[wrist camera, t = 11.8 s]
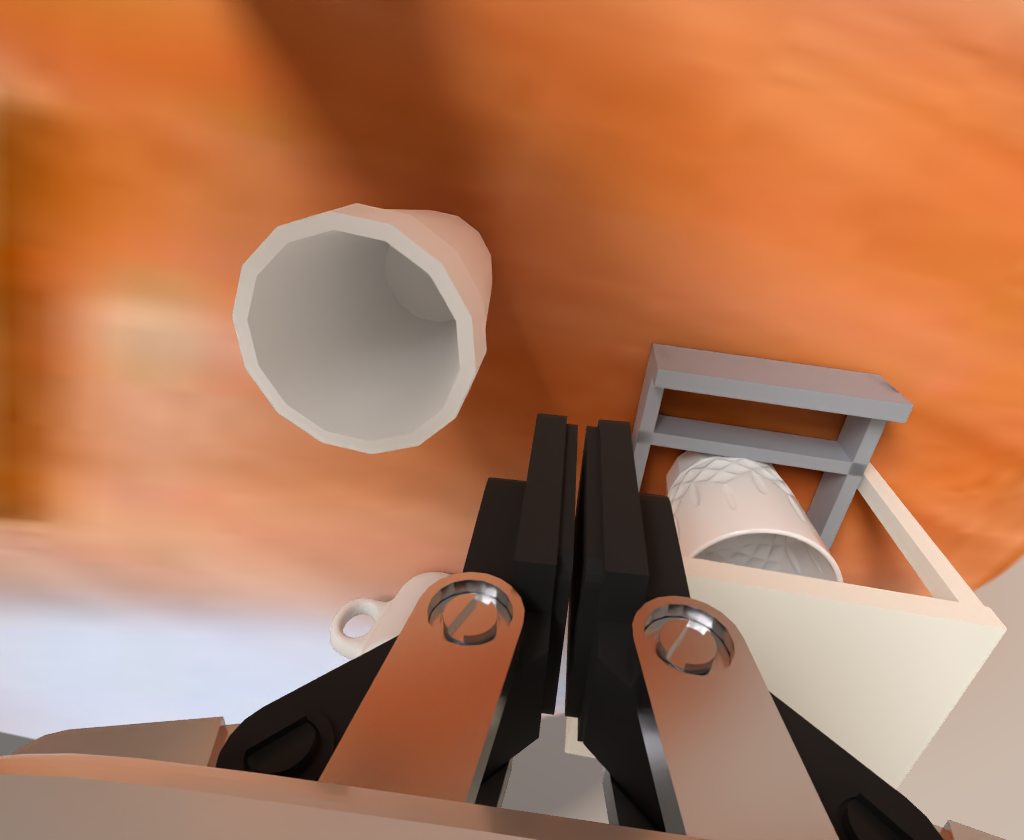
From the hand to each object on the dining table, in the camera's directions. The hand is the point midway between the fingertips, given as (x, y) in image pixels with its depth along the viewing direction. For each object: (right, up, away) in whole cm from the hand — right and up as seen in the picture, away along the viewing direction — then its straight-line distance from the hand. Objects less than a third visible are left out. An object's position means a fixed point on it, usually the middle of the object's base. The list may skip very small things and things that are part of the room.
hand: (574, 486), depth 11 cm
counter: (+12, -5, +27) cm, 30 cm away
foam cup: (-5, +10, +23) cm, 25 cm away
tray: (+12, -2, +26) cm, 29 cm away
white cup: (+12, -3, +26) cm, 29 cm away
